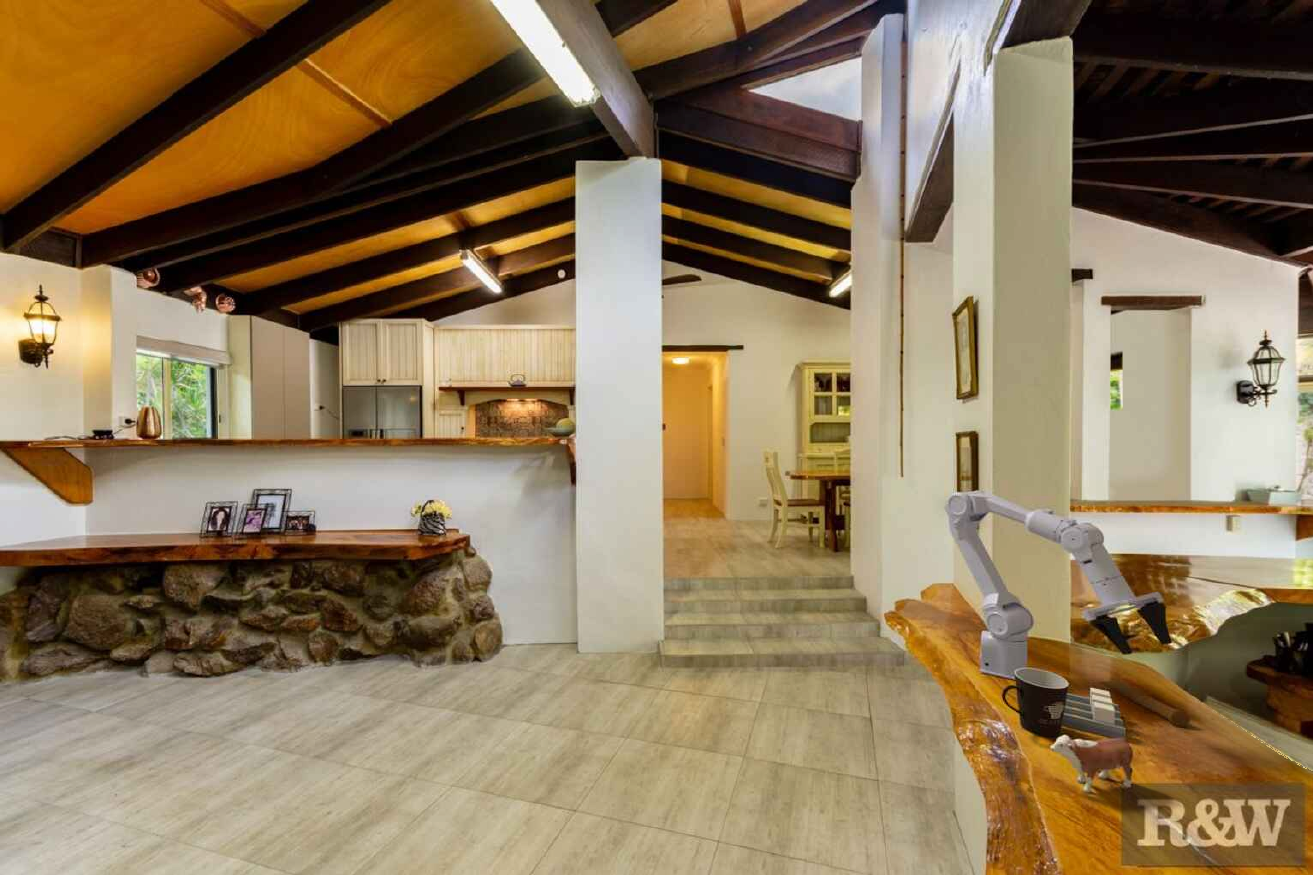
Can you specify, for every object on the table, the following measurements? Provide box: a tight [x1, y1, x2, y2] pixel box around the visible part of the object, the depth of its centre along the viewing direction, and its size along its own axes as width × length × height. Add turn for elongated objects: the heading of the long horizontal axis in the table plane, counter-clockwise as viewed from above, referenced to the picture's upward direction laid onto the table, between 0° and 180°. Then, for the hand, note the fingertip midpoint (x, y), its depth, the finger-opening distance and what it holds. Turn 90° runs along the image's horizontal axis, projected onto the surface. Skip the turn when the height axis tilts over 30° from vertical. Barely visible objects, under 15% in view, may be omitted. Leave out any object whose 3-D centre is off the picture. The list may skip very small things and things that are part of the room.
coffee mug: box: [1001, 667, 1069, 739], centre depth 106 cm, size 12×9×10 cm
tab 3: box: [1093, 702, 1115, 725], centre depth 105 cm, size 3×2×3 cm
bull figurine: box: [1050, 734, 1134, 795], centre depth 89 cm, size 4×13×8 cm, turn 95°
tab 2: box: [1092, 695, 1114, 713], centre depth 108 cm, size 3×2×3 cm
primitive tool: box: [1098, 679, 1191, 728], centre depth 116 cm, size 19×6×4 cm, turn 178°
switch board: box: [1062, 692, 1127, 739], centre depth 109 cm, size 10×11×2 cm
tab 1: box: [1089, 687, 1111, 705], centre depth 111 cm, size 3×2×3 cm
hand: (1147, 649), depth 106 cm, fingers open, 7 cm apart
